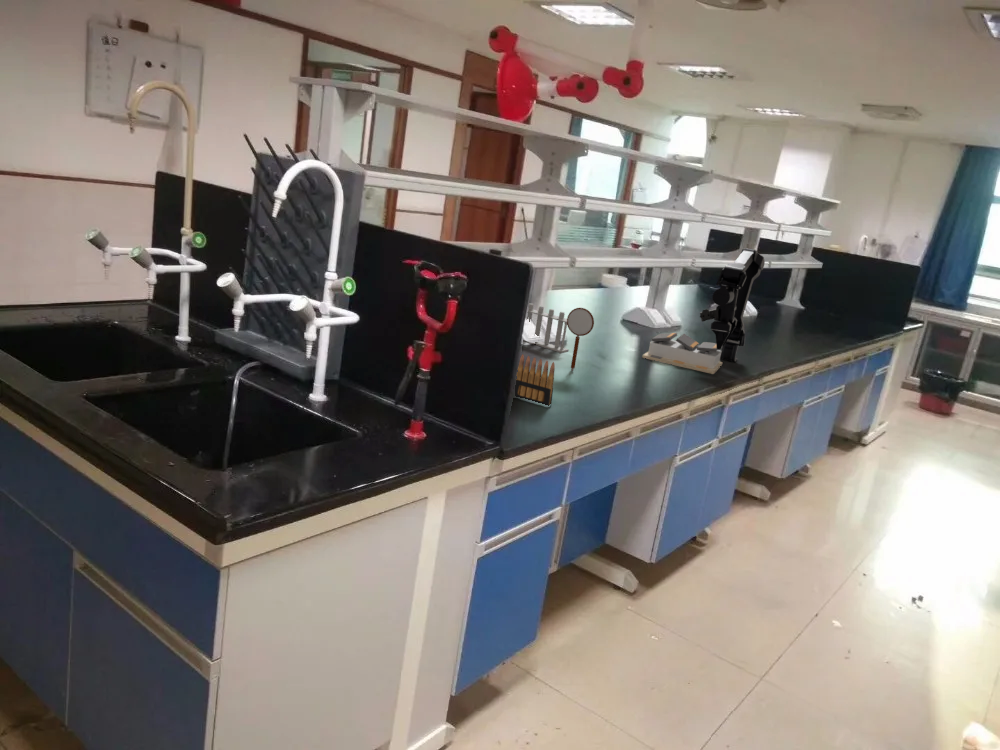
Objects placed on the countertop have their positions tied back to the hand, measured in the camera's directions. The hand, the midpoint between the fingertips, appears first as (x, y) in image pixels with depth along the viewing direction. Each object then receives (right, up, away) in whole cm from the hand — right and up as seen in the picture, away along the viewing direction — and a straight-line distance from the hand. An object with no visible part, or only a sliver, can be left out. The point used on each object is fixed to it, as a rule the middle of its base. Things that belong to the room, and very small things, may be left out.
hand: (720, 347), depth 260 cm
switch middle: (-11, +2, +5) cm, 12 cm away
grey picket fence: (-64, +1, +2) cm, 64 cm away
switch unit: (-12, -5, +6) cm, 14 cm away
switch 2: (-3, 0, +2) cm, 4 cm away
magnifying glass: (-55, -9, -29) cm, 62 cm away
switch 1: (-18, +4, +8) cm, 20 cm away
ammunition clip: (-69, -17, -65) cm, 96 cm away
